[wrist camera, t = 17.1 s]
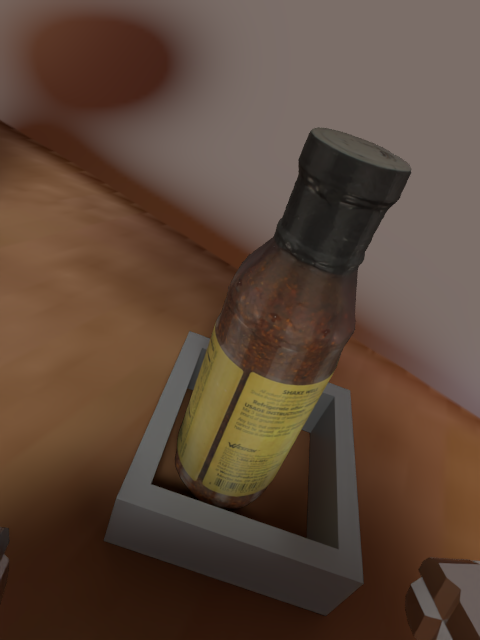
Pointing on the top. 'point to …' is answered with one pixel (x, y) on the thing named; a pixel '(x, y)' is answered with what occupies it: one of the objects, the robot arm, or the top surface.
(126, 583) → the top surface
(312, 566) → the bottle collar
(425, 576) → the robot arm
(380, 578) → the top surface
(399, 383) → the top surface
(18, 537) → the top surface
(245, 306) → the sauce bottle
